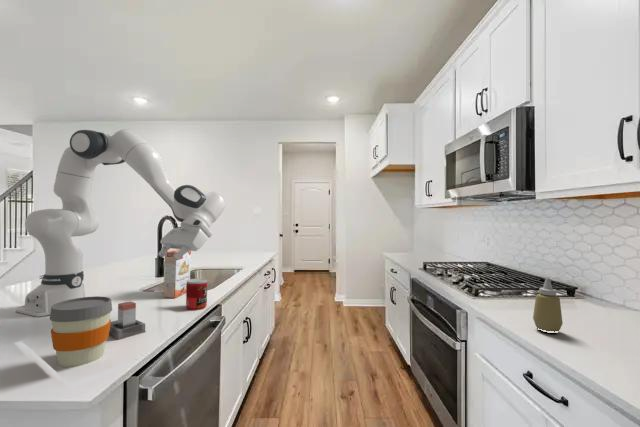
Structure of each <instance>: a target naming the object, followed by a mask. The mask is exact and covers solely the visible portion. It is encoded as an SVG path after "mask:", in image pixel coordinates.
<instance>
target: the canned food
mask: <svg viewBox="0 0 640 427" xmlns="http://www.w3.org/2000/svg"><path fill="white" fill-rule="evenodd" d="M185 295H186V296H185V298H186V299H185V306H186V309H187V310H190V311H199V310H204V309H205V308H206V307H207V305H208V302H207V301H208V279H206V278H190V280H187V284H186V293H185Z"/></svg>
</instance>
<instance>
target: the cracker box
mask: <svg viewBox="0 0 640 427" xmlns="http://www.w3.org/2000/svg"><path fill="white" fill-rule="evenodd" d="M179 250H181V249H173V250H167V252H166V255H165V256H164V271H163V298H164V299H166V298H167V299H176V298H178V297H181V294H182V293H184V294H186V284H187V280H190V279H191V264H192V262H191V261H192V260H191V259H192V258H191V257H192V254H191V253H192V251H188V252H187V253H186V254H184V255H183V256H181V257H180V259H175V258H174V257H173V255H174V254H175V253H176V252H178V251H179ZM182 295H183V294H182Z"/></svg>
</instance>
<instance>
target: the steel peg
mask: <svg viewBox="0 0 640 427" xmlns="http://www.w3.org/2000/svg"><path fill="white" fill-rule="evenodd" d="M136 310H137V303H136V302H134V301H130V300H129V301H124V302H120V303H117V320H118V328H119V329H124V328H127V327H131V326H135V321H136V320H137V318H136V315H137V314H136V312H137V311H136Z"/></svg>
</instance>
